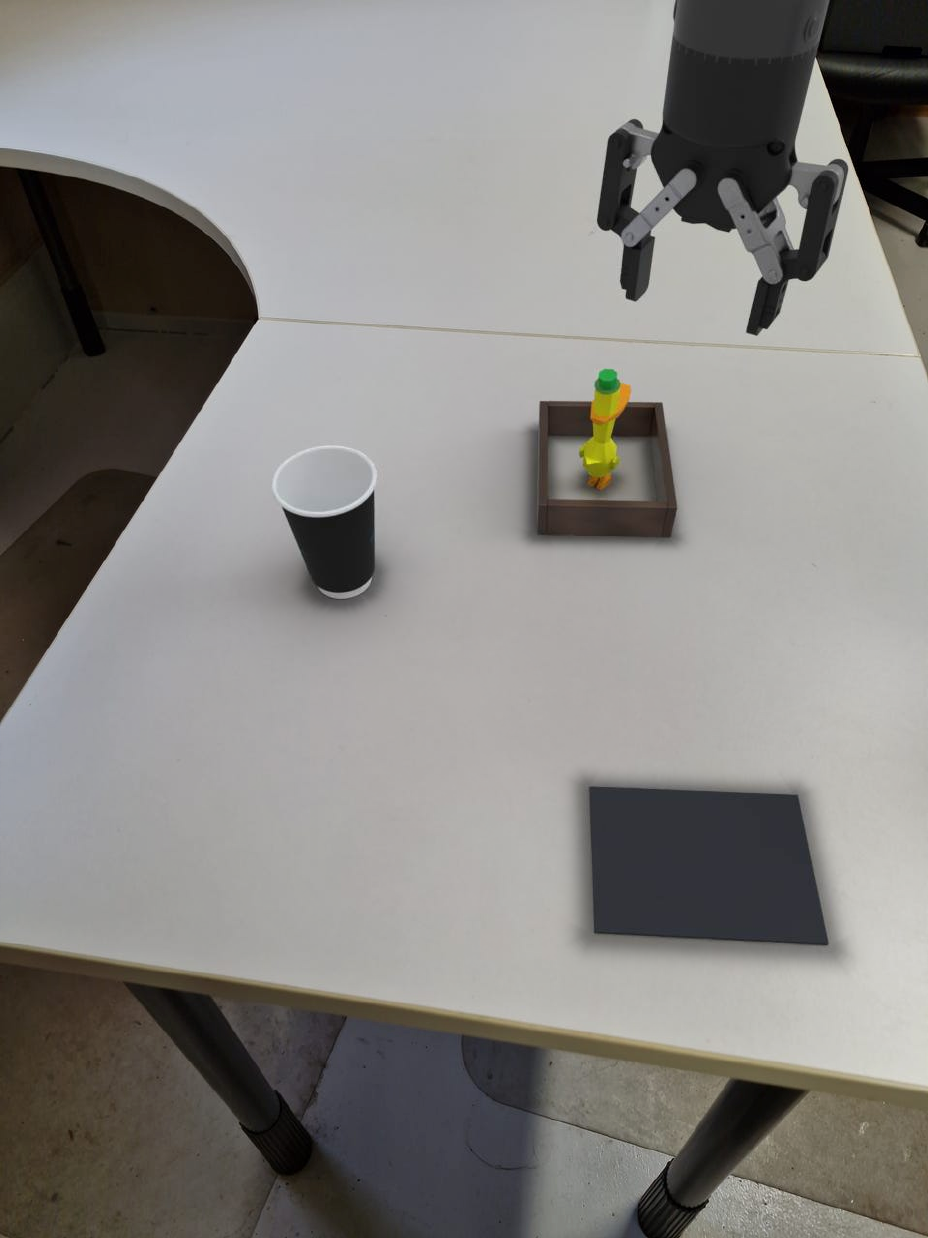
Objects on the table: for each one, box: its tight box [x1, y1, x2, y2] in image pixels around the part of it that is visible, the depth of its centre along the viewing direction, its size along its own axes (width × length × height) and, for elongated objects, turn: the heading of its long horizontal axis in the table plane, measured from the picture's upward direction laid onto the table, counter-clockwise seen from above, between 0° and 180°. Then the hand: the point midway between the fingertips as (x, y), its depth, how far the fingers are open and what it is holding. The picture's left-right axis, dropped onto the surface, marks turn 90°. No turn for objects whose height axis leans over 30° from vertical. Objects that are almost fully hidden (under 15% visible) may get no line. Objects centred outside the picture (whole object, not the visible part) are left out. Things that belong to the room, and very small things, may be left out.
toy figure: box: [578, 368, 632, 491], centre depth 75 cm, size 7×4×12 cm, turn 148°
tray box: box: [536, 400, 678, 538], centre depth 78 cm, size 12×15×4 cm
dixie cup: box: [271, 444, 379, 600], centre depth 68 cm, size 8×8×11 cm
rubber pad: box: [588, 785, 829, 946], centre depth 55 cm, size 14×10×1 cm
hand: (694, 311), depth 57 cm, fingers open, 8 cm apart
